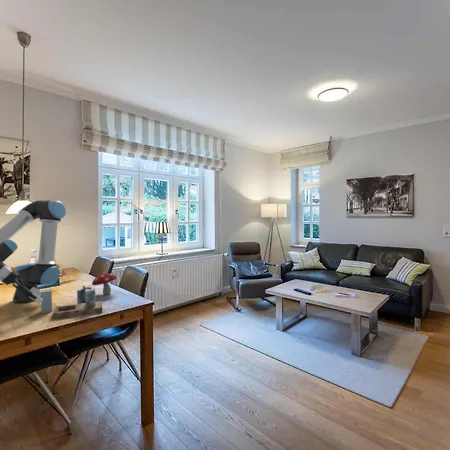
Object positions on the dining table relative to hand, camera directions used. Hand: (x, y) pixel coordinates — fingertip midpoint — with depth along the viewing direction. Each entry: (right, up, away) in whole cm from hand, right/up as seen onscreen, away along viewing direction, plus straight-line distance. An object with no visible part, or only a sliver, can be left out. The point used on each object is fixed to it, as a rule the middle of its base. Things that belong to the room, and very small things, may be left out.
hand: (41, 298), depth 159 cm
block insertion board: (+21, -8, +1) cm, 22 cm away
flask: (+16, -8, +18) cm, 25 cm away
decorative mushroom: (+21, -7, +35) cm, 41 cm away
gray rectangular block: (+1, -8, +3) cm, 9 cm away
